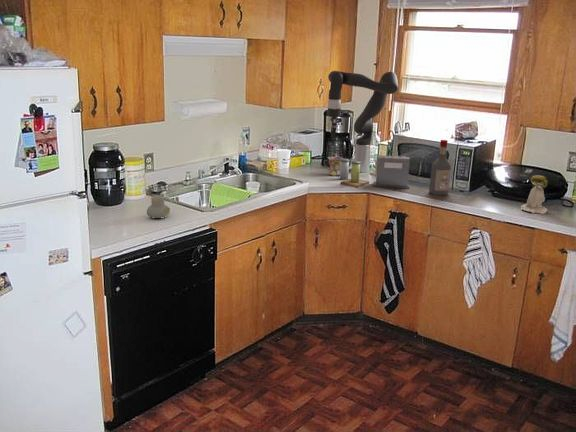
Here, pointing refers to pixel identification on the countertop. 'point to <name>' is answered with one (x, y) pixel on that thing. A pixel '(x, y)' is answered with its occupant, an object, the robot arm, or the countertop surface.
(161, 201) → the grey brown bulbous piece
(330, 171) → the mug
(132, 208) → the countertop surface
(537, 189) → the beige tapered lump
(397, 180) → the box
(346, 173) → the cylinder
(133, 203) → the countertop surface
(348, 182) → the pad
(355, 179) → the green cartridge
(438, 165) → the liquor
